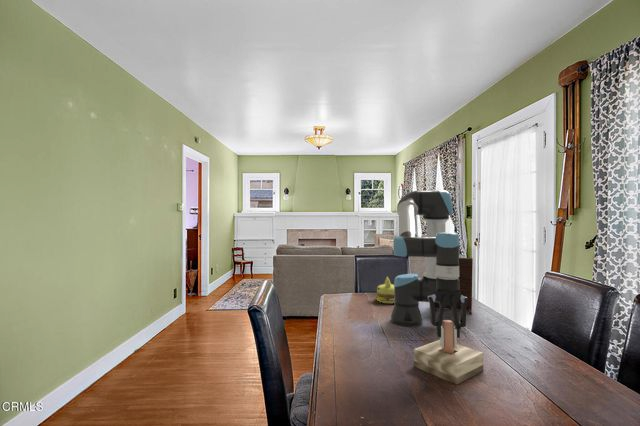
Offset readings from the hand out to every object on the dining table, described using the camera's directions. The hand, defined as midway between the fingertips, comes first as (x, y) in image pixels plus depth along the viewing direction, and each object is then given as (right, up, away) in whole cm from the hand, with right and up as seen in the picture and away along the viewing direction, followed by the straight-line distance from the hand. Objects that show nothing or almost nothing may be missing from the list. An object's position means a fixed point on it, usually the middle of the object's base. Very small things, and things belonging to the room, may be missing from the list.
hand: (448, 346), depth 115 cm
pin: (0, -5, 0) cm, 5 cm away
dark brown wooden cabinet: (+29, -9, +72) cm, 78 cm away
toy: (-1, -9, +93) cm, 93 cm away
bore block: (0, -7, 0) cm, 7 cm away
